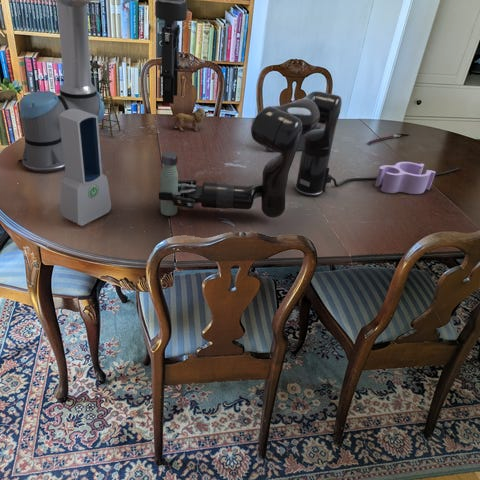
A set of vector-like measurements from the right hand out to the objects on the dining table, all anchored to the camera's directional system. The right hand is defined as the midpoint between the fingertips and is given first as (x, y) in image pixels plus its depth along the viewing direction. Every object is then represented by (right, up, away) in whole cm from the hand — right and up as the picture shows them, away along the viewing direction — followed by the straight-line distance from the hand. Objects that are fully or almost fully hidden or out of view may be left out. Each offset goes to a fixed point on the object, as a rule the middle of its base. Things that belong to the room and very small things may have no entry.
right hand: (160, 191), depth 136 cm
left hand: (+5, +23, -15) cm, 28 cm away
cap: (+4, +9, -6) cm, 12 cm away
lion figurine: (+1, +33, +64) cm, 72 cm away
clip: (+82, +5, +34) cm, 89 cm away
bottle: (+2, -6, +4) cm, 7 cm away
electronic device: (-21, -7, -2) cm, 22 cm away
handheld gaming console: (+44, +23, +55) cm, 74 cm away
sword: (+92, +32, +77) cm, 124 cm away
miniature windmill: (-31, +29, +52) cm, 67 cm away
